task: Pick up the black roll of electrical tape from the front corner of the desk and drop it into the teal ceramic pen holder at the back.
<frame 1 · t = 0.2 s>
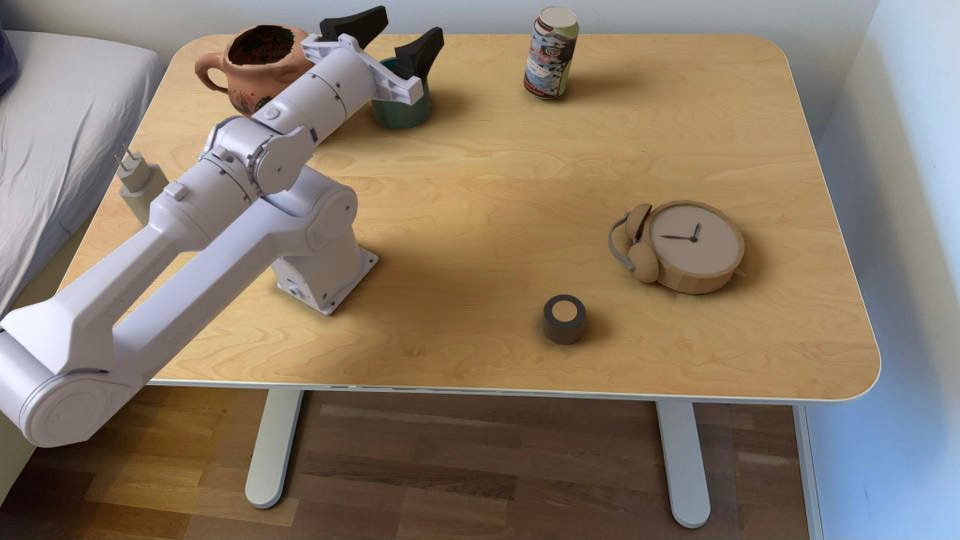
hand: (412, 24, 70), 22 cm above the table, tool horizontal, fingers open, 7 cm apart
alarm clock: (670, 256, 77), on the table
pen holder: (402, 109, 95), on the table
beverage can: (548, 91, 96), on the table
decorative planter: (289, 127, 94), on the table
tape roll: (563, 327, 72), on the table
power adapter: (166, 219, 85), on the table
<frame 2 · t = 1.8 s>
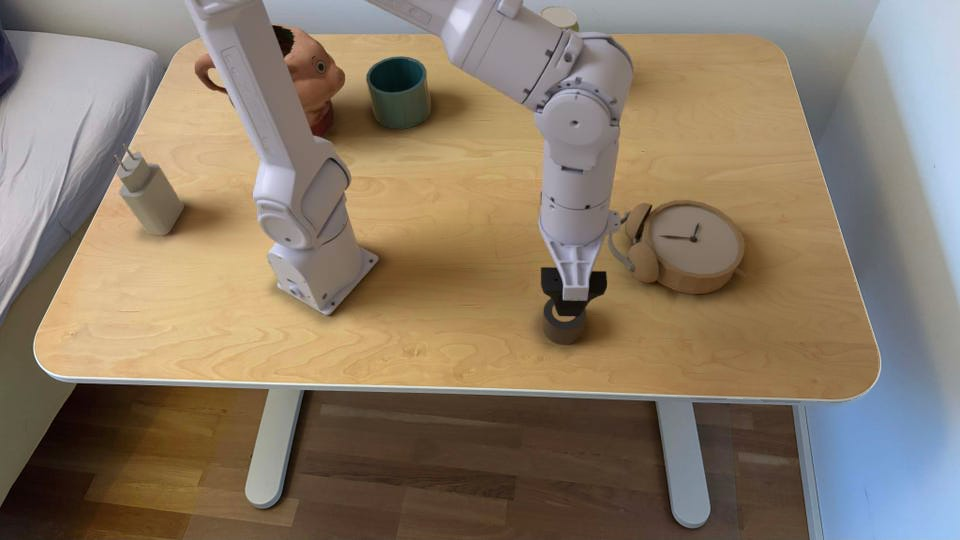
hand: (567, 280, 65), 9 cm above the table, tool pointing down, fingers open, 7 cm apart
nothing on the table moved.
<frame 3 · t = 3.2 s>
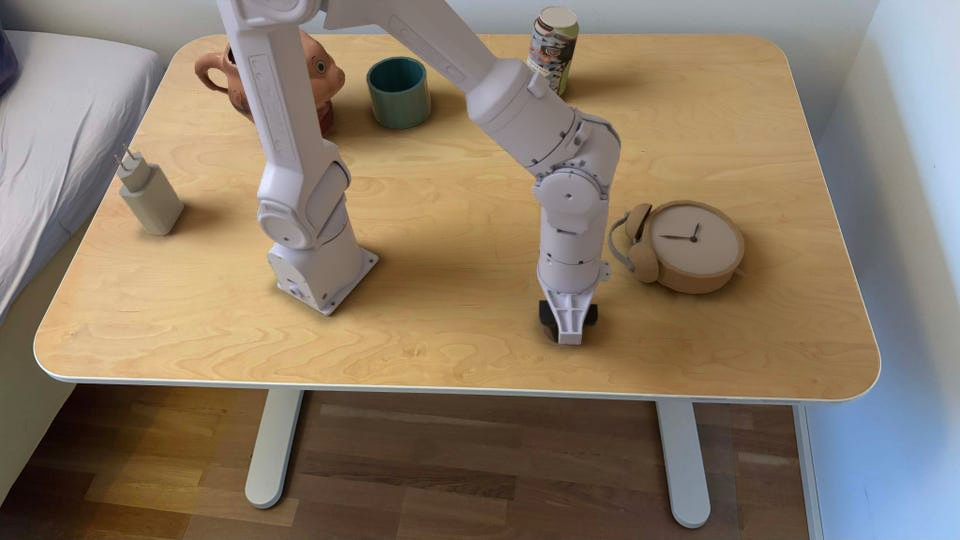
hand: (563, 319, 71), 2 cm above the table, tool pointing down, fingers closed on tape roll, 4 cm apart
tape roll: (563, 326, 72), on the table, touching gripper
everything else where it was.
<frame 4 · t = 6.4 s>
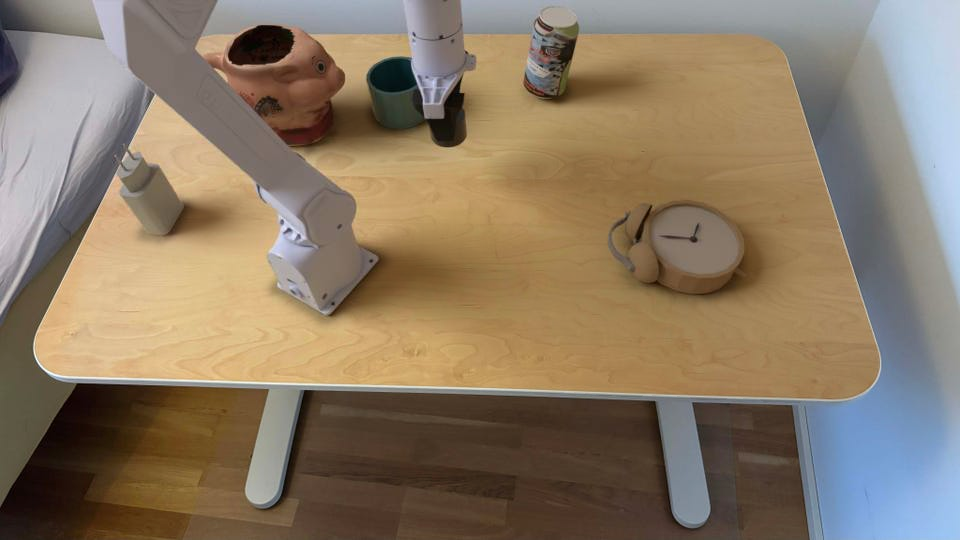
hand: (446, 125, 79), 9 cm above the table, tool pointing down, fingers closed on tape roll, 4 cm apart
tape roll: (448, 135, 80), point 7 cm above the table, touching gripper
everything else where it was.
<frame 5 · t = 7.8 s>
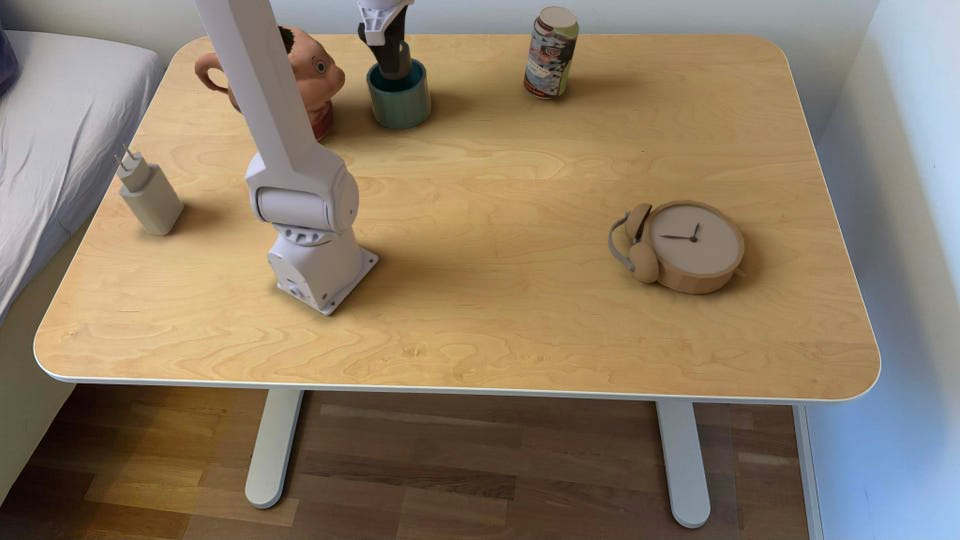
hand: (393, 59, 88), 8 cm above the table, tool pointing down, fingers closed on tape roll, 4 cm apart
tape roll: (396, 69, 89), point 7 cm above the table, touching gripper
everything else where it was.
when the fingers open (5 cm above the table, at t = 9.5 s): tape roll stays where it is, resting on pen holder.
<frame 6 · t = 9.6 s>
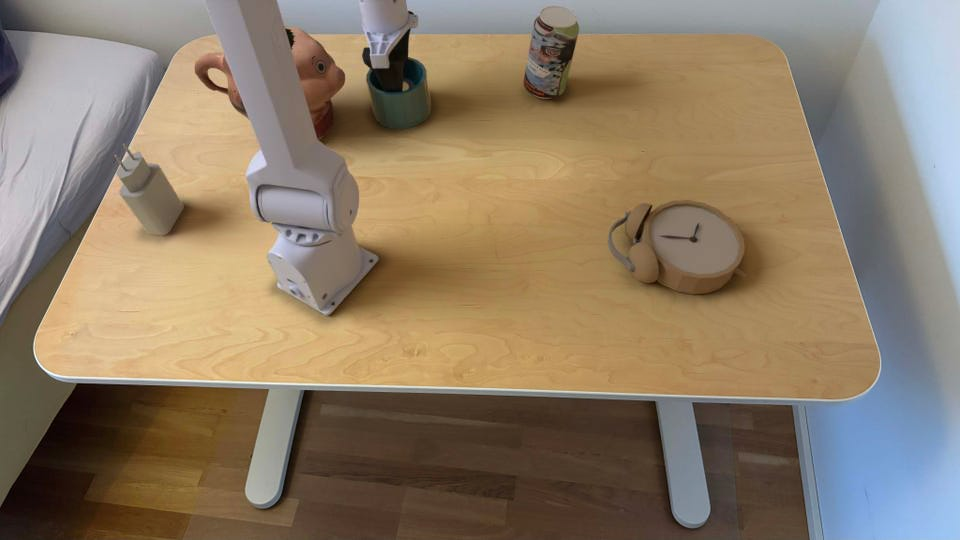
hand: (397, 79, 90), 5 cm above the table, tool pointing down, fingers open, 5 cm apart
tape roll: (402, 106, 94), point 1 cm above the table, touching pen holder
everything else where it was.
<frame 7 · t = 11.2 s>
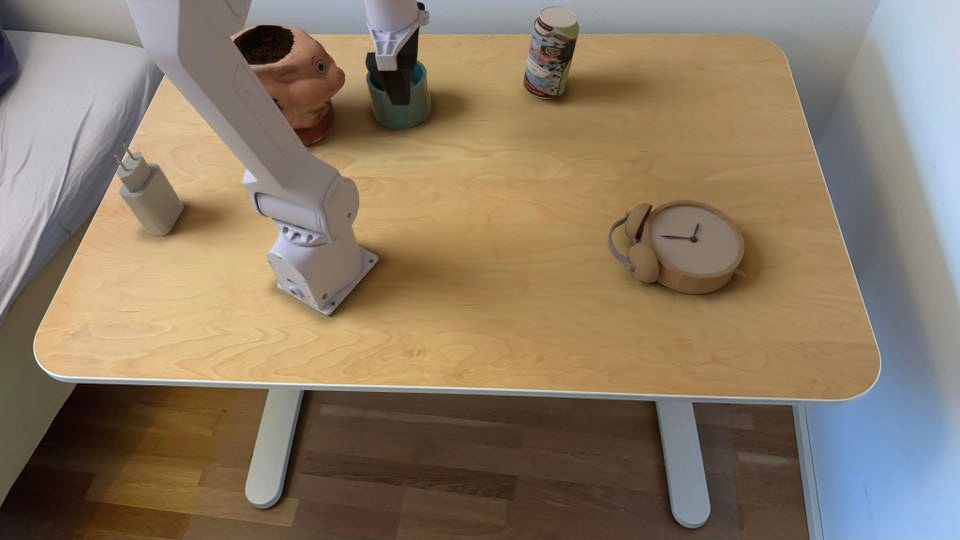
hand: (404, 82, 82), 10 cm above the table, tool pointing down, fingers open, 7 cm apart
nothing on the table moved.
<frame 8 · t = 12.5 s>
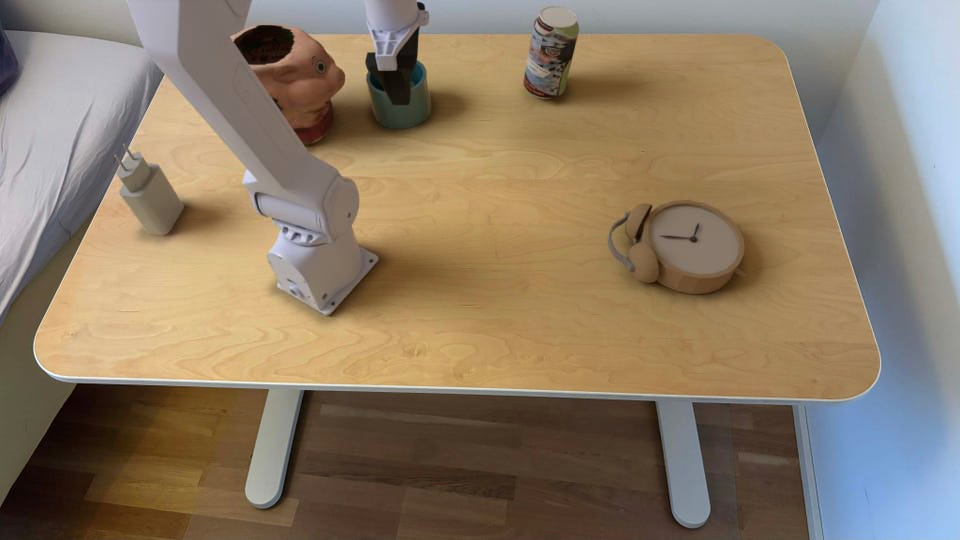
hand: (404, 82, 82), 10 cm above the table, tool pointing down, fingers open, 7 cm apart
nothing on the table moved.
at the end: tape roll 0.1 cm off-centre in the pen holder, point 0.6 cm above the pen holder's base; the gripper is holding nothing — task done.
